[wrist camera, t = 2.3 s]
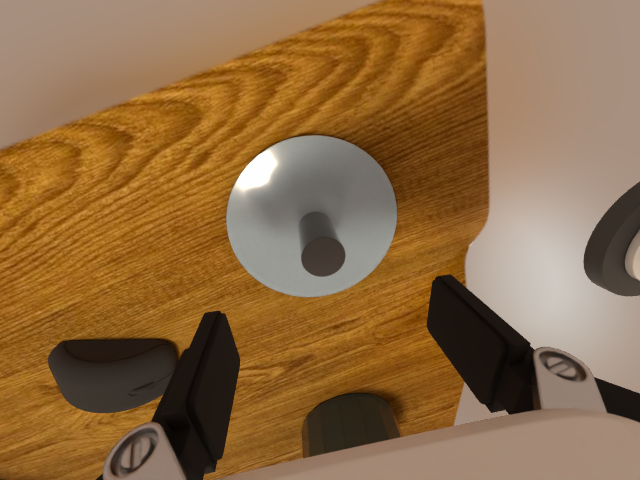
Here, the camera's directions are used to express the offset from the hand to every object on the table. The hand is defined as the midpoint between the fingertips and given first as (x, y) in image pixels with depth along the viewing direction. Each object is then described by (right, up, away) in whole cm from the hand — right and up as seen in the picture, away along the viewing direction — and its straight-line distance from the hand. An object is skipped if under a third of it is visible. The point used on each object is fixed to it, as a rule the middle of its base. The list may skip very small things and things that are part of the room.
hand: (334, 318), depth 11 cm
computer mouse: (-22, -9, +15) cm, 28 cm away
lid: (-1, +5, +11) cm, 12 cm away
